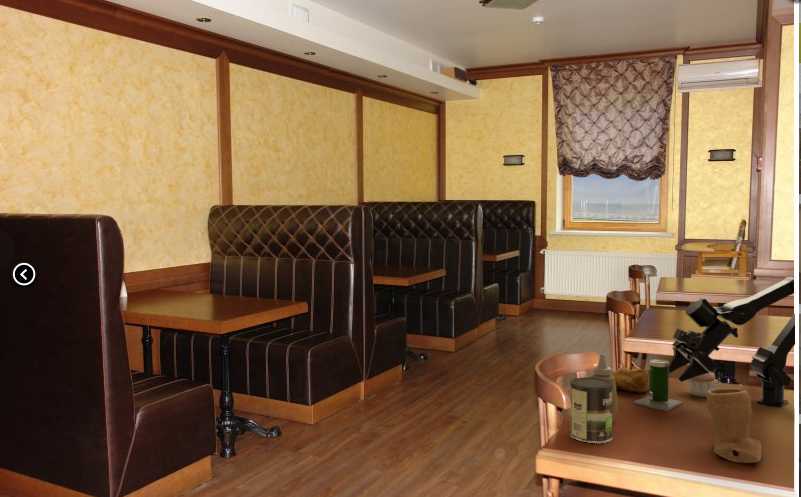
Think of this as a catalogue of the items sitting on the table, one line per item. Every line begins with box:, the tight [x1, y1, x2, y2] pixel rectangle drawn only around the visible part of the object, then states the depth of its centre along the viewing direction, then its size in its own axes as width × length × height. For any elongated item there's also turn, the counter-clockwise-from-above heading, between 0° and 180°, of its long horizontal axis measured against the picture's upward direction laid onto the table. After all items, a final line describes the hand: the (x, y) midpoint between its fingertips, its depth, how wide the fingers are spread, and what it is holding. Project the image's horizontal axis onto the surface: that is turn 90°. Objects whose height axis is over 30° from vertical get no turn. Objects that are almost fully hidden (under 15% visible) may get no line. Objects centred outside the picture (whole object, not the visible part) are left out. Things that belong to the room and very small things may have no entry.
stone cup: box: [705, 387, 762, 464], centre depth 154 cm, size 15×12×15 cm
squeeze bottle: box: [589, 353, 619, 422], centre depth 179 cm, size 8×8×18 cm
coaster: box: [633, 394, 683, 412], centre depth 193 cm, size 10×10×1 cm
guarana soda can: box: [648, 358, 670, 404], centre depth 192 cm, size 5×5×12 cm
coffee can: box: [569, 377, 613, 445], centre depth 166 cm, size 10×10×14 cm
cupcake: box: [685, 370, 719, 398], centre depth 201 cm, size 9×9×10 cm
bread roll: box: [613, 367, 649, 394], centre depth 208 cm, size 13×10×8 cm
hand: (673, 376), depth 192 cm, fingers open, 9 cm apart
